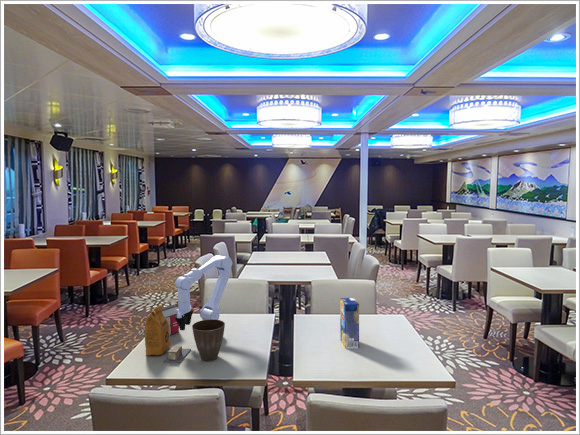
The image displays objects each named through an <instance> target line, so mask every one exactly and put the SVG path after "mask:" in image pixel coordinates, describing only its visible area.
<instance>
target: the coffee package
mask: <svg viewBox="0 0 580 435" xmlns="http://www.w3.org/2000/svg"><path fill="white" fill-rule="evenodd" d="M162 308H164V306H163V304H160V305H157V306H156V307H155V308H153V310H151V312H150V314H149V316H148V318H147V319H146V321H145V325H144V345H145V356H147V357H148V356H160V355H161V356H162V355H163V354H164V353H165V352H166V351H168V348H169V347H170V346H171V341H170V340H171V339H170V335H169V324H168V321H167V319H166V318H165V316H164V315H163V313H162V310H161V309H162Z"/></svg>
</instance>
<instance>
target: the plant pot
mask: <svg viewBox="0 0 580 435" xmlns="http://www.w3.org/2000/svg"><path fill="white" fill-rule="evenodd" d="M191 325H192V326H191V327H192V334H193V338H194V341H195V346H196V349H197V352H198V354H199V357H200V359H201V360H202V361H204V362H211V361H212V362H213V361H215V360H216V359H218V357H219V353H220V350H221V347H222V344H223V338H224V335H225V334H224V333H225V327H226V326H225V325H226V324H225V321H223V320H221V319H218V320H216V319H208V320H202V319H201V320H198V321H196V322H194V323H193V324H191Z"/></svg>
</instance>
